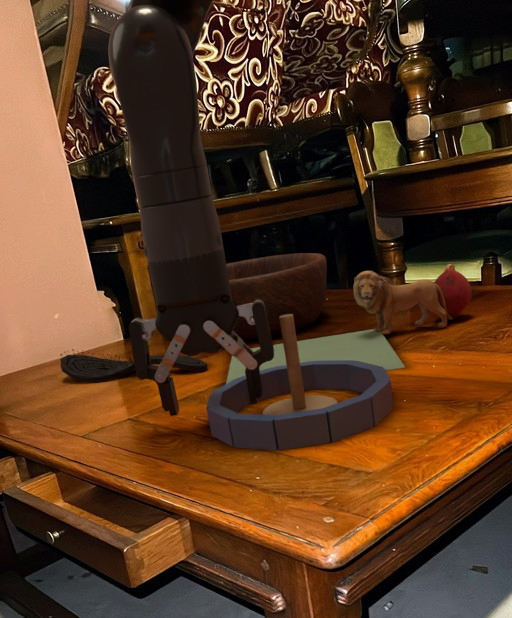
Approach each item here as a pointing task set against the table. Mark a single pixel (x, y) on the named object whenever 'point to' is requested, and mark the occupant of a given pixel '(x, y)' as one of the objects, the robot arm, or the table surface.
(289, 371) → the dowel stand
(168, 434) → the table surface
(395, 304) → the lion figurine
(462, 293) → the onion
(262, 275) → the wooden bowl
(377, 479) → the table surface
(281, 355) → the green mat
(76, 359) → the hairbrush
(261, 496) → the table surface
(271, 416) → the blue ring
